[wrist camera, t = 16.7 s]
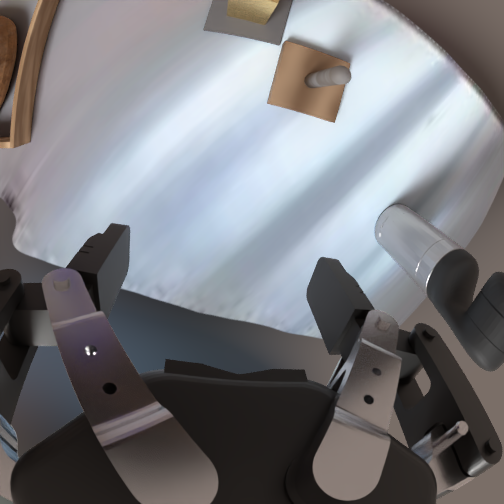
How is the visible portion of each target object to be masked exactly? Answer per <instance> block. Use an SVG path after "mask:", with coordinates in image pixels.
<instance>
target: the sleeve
mask: <svg viewBox="0 0 504 504" xmlns="http://www.w3.org/2000/svg"><path fill="white" fill-rule="evenodd" d="M278 2H279V0H228V7H227V16H230V17H234V18H238V19H243V20H247V21H251V22H254V23H258V24H262V25H265V24H266V22H267V21H268V19H269V17H270V16H271V14H272V12H273V11H274V9H275V8H276V6H277V4H278Z"/></svg>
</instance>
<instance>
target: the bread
mask: <svg viewBox="0 0 504 504" xmlns="http://www.w3.org/2000/svg"><path fill="white" fill-rule="evenodd" d="M16 52H17V32H16V26H15V24H14V23H13V21H12V20H10V19H8V18H7V17H4V16H0V107H1V105H2V103H3V101H4V99H5V96H6V93H7V90H8V87H9V83H10V80H11V76H12V73H13V69H14V65H15V59H16Z"/></svg>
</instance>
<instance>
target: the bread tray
mask: <svg viewBox="0 0 504 504" xmlns="http://www.w3.org/2000/svg"><path fill="white" fill-rule="evenodd" d="M58 3H59V0H38V3H37V5H36V8H35V11H34V14H33V17H32V20H31V23H30V26H29V29H28V33H27V36H26V40H25V43H24V47H23V51H22V55H21V60H20V64H19V69H18V75H17V80H16V86H15V92H14V100H13V108H12V118H11V131H10V137H0V148H15V147H18V146H21V145H24V144H26V143H29V142H30V139H31V125H32V115H33V106H34V98H35V92H36V85H37V80H38V74H39V69H40V65H41V60H42V56H43V52H44V48H45V44H46V40H47V36H48V33H49V29H50V26H51V23H52V20H53V17H54V14H55V11H56V8H57V5H58Z"/></svg>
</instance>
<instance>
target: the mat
mask: <svg viewBox="0 0 504 504" xmlns="http://www.w3.org/2000/svg"><path fill="white" fill-rule="evenodd" d="M291 2H292V0H279V2H278V4H277V6H276V8H275V9H274V11H273V12H272V14H271V16H270V17H269V19H268V21H267V22H266V24H265V25H262V24H258V23H254V22H251V21H247V20H243V19H238V18H234V17H230V16H227V7H228V0H213V1H212V4H211V7H210V10H209V14H208V17H207V20H206V23H205V26H204V30H205V31H212V32H218V33H224V34H230V35H236V36H241V37H246V38H250V39H255V40H259V41H263V42H267V43H271V44H275V45H280V41H281V38H282V34H283V30H284V27H285V23H286V20H287V16H288V13H289V9H290V6H291Z"/></svg>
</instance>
